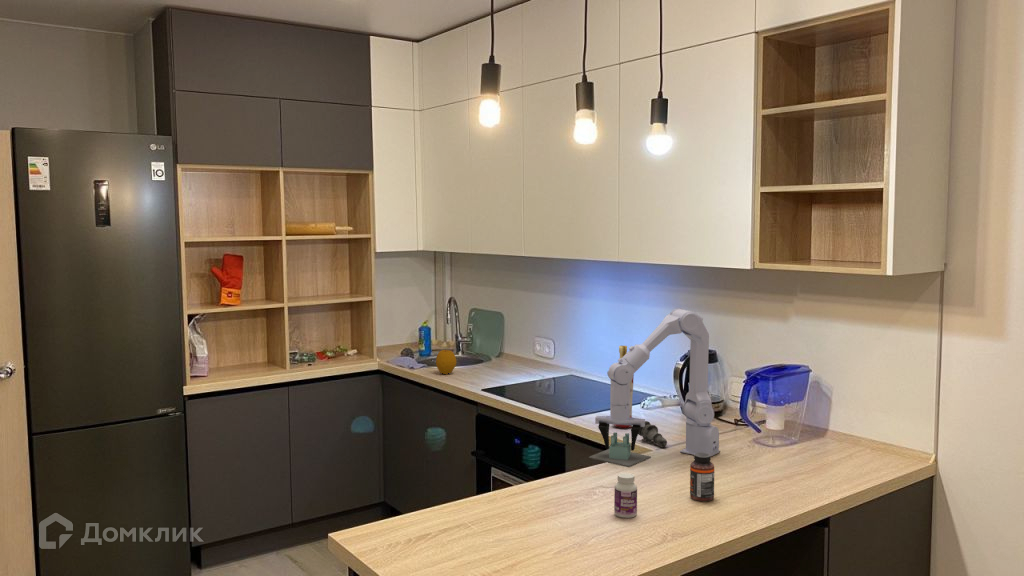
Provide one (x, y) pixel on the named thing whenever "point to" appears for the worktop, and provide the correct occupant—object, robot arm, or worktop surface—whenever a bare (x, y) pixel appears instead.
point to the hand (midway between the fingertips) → (619, 448)
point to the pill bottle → (625, 496)
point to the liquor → (622, 352)
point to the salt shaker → (652, 434)
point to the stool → (620, 447)
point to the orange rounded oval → (445, 361)
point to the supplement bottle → (702, 477)
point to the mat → (630, 462)
